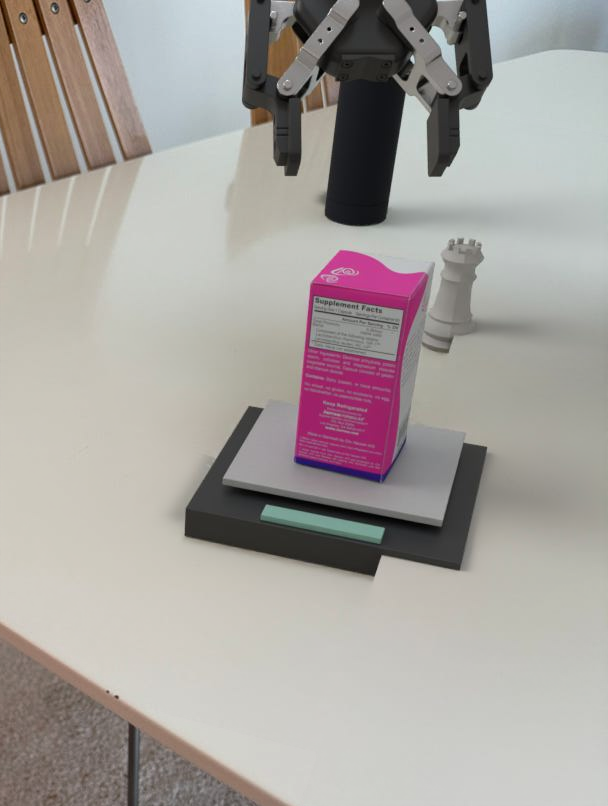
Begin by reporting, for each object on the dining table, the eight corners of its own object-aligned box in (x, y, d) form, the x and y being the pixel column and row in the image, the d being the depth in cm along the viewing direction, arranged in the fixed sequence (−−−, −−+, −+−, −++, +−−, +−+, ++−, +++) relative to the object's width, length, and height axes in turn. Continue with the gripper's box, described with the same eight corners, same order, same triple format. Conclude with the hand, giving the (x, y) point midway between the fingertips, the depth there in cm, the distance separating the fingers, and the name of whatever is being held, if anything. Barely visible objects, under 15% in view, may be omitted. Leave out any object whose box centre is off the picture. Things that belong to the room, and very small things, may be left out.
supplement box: (317, 422, 68) (340, 244, 60) (407, 442, 66) (443, 260, 59) (287, 463, 64) (309, 277, 56) (382, 485, 62) (417, 296, 54)
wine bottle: (313, 218, 108) (354, -143, 89) (340, 202, 112) (385, -146, 93) (370, 230, 106) (425, -140, 86) (396, 213, 110) (454, -143, 90)
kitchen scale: (480, 473, 69) (491, 432, 67) (453, 592, 59) (464, 549, 57) (246, 431, 73) (249, 391, 71) (184, 536, 63) (185, 493, 61)
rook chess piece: (474, 356, 83) (497, 255, 77) (417, 352, 83) (436, 251, 78) (470, 333, 86) (492, 235, 81) (415, 329, 87) (433, 231, 81)
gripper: (249, -141, 59) (251, 133, 57) (503, -142, 59) (511, 133, 57) (236, -42, 66) (238, 202, 65) (461, -42, 66) (468, 203, 65)
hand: (366, 169), depth 61 cm, fingers open, 8 cm apart
